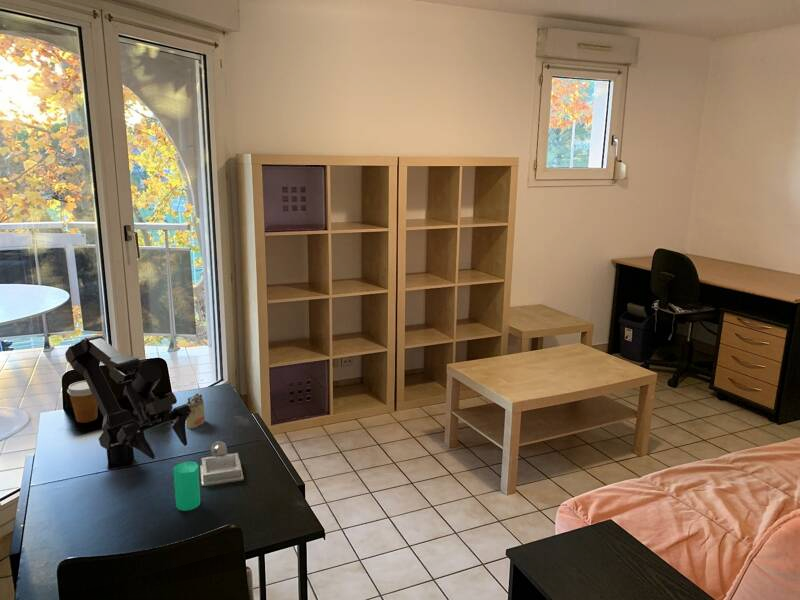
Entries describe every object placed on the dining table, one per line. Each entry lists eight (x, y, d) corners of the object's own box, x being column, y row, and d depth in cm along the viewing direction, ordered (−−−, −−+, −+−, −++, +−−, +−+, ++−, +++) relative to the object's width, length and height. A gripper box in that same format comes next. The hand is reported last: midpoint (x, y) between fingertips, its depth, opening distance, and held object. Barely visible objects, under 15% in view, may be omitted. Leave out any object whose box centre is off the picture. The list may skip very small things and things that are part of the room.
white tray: (201, 486, 163) (200, 471, 162) (199, 457, 179) (198, 443, 178) (243, 480, 167) (243, 465, 166) (237, 451, 182) (237, 438, 181)
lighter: (192, 429, 196) (190, 400, 194) (183, 427, 198) (181, 398, 195) (207, 421, 203) (205, 393, 200) (198, 419, 204) (196, 391, 202)
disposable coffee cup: (94, 425, 198) (90, 390, 195) (65, 424, 198) (60, 390, 195) (108, 413, 207) (104, 380, 204) (80, 412, 207) (76, 379, 204)
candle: (177, 513, 151) (174, 469, 149) (174, 500, 157) (171, 458, 154) (202, 507, 154) (199, 464, 151) (198, 495, 159) (195, 453, 156)
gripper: (118, 396, 148) (146, 451, 144) (185, 375, 163) (213, 425, 159) (105, 417, 155) (132, 470, 151) (170, 395, 169) (197, 443, 165)
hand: (170, 451), depth 156 cm, fingers open, 9 cm apart
